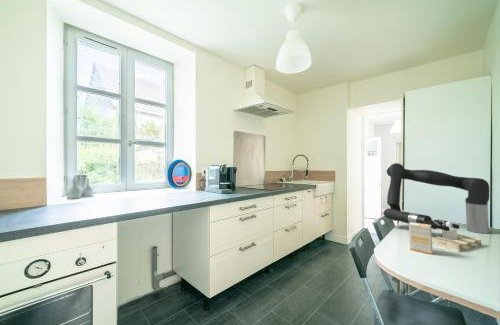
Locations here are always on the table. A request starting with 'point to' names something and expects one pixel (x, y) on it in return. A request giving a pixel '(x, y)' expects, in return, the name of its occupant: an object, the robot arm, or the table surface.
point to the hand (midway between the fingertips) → (454, 227)
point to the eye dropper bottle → (449, 232)
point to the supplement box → (420, 237)
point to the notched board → (457, 242)
